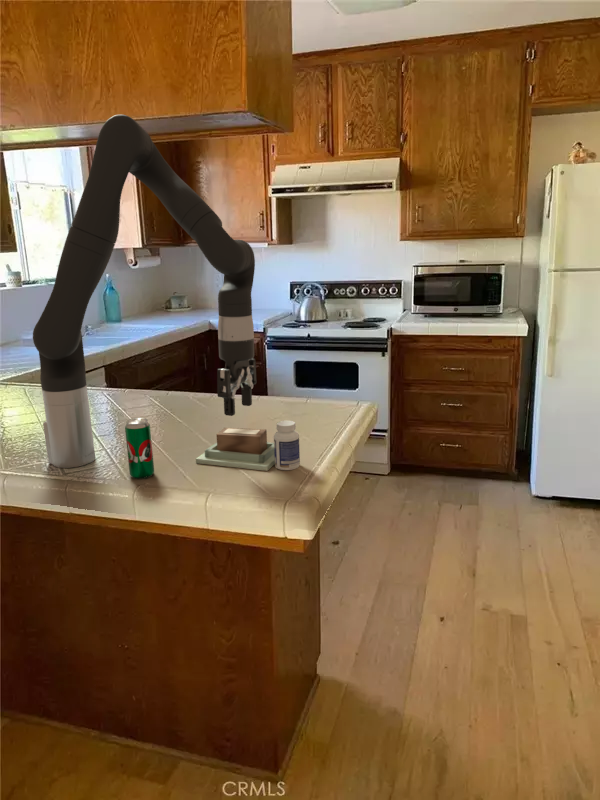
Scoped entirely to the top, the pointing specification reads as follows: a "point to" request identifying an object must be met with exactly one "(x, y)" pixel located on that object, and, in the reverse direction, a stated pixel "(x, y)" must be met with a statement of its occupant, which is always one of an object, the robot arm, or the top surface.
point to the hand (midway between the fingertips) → (238, 410)
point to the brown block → (242, 440)
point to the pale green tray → (239, 458)
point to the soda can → (139, 448)
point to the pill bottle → (286, 446)
